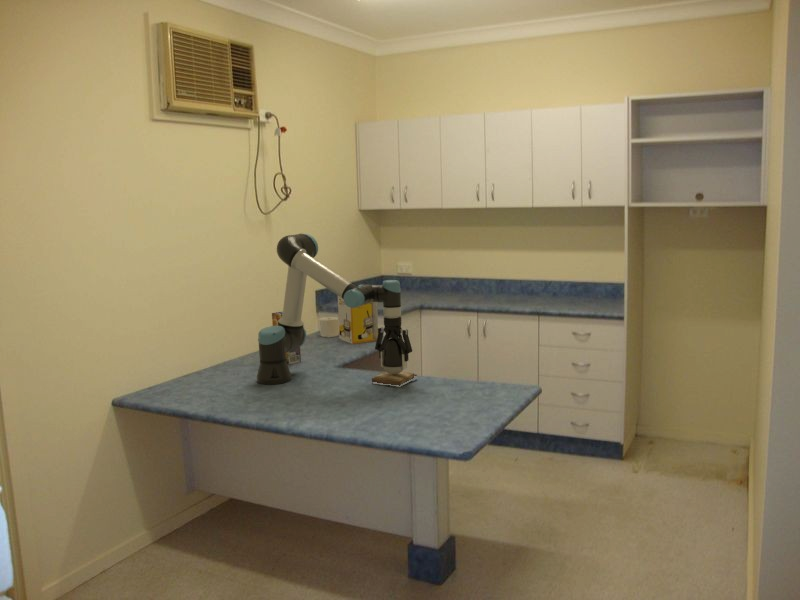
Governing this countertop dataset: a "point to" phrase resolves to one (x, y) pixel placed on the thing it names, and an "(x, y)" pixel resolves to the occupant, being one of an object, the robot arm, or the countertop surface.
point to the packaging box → (358, 322)
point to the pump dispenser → (392, 357)
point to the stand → (393, 378)
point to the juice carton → (291, 355)
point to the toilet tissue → (329, 327)
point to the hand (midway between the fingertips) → (394, 367)
